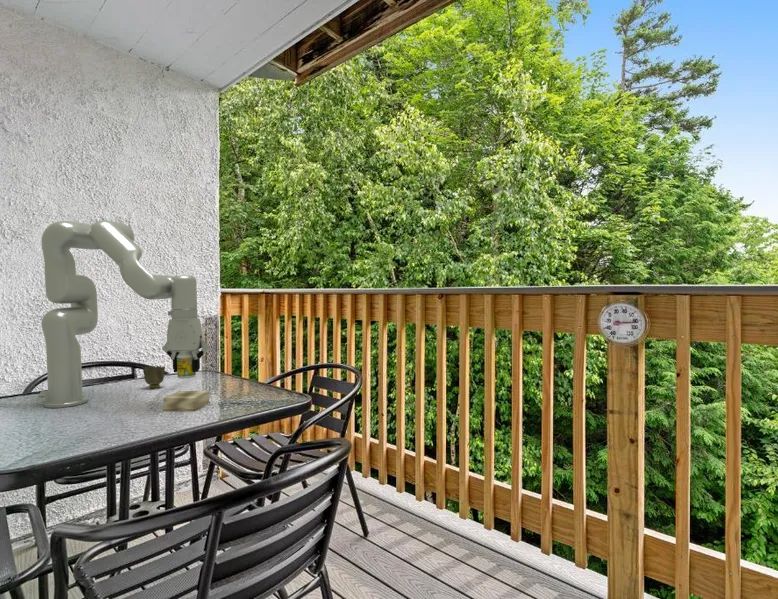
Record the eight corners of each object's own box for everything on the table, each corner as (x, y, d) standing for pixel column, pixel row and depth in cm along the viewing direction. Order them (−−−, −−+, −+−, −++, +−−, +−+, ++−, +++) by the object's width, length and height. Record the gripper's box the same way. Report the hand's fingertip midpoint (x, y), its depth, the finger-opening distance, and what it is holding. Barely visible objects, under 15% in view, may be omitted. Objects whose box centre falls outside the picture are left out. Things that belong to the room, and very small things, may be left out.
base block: (162, 411, 154) (162, 398, 154) (179, 402, 164) (179, 390, 164) (195, 411, 153) (195, 398, 153) (210, 403, 163) (209, 390, 163)
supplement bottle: (199, 376, 160) (198, 346, 160) (187, 379, 155) (186, 348, 155) (185, 375, 162) (184, 345, 161) (173, 378, 157) (172, 348, 156)
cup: (159, 390, 184) (159, 368, 183) (139, 390, 184) (139, 368, 184) (168, 386, 191) (168, 365, 191) (149, 386, 191) (149, 365, 191)
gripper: (152, 315, 154) (154, 373, 155) (205, 315, 153) (207, 373, 154) (164, 314, 162) (166, 369, 163) (216, 313, 161) (217, 369, 161)
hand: (186, 371), depth 158 cm, fingers closed on supplement bottle, 5 cm apart
